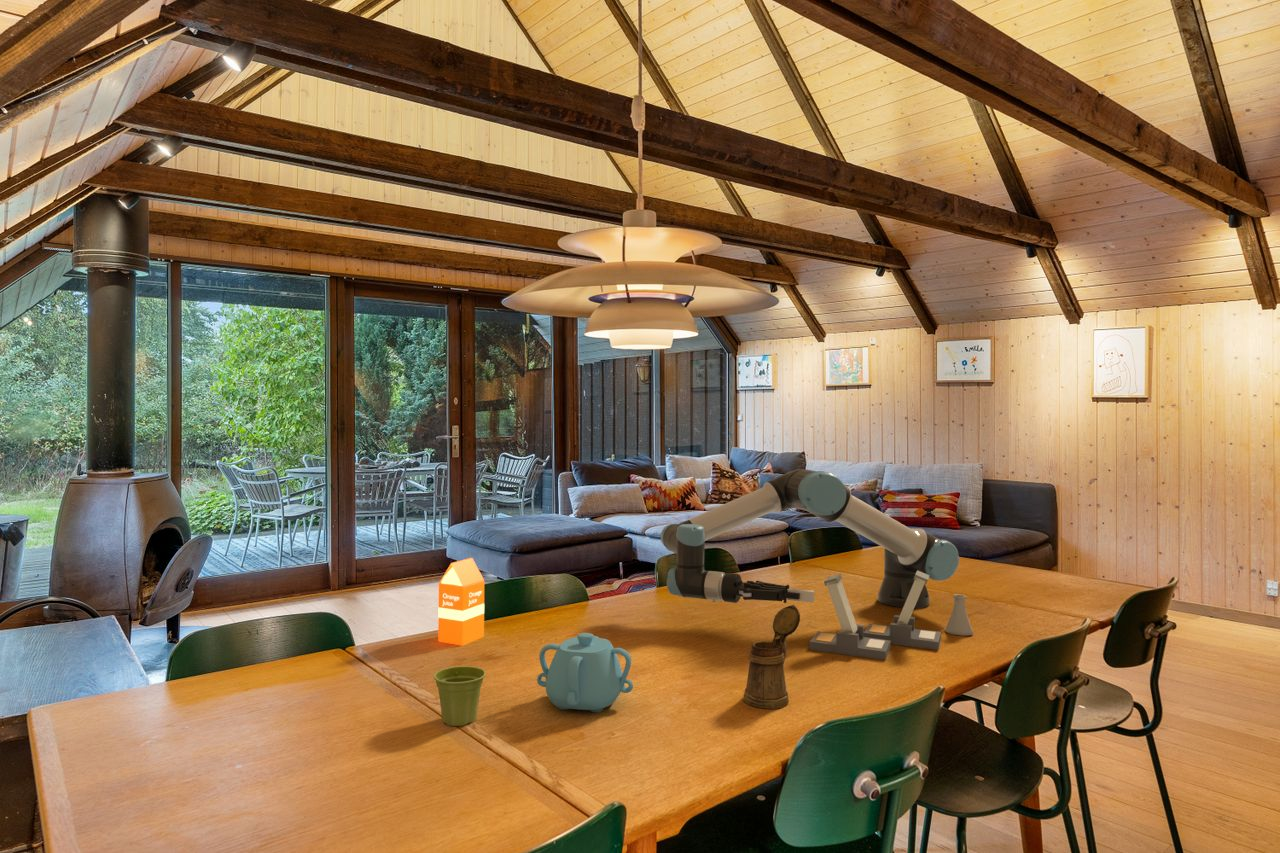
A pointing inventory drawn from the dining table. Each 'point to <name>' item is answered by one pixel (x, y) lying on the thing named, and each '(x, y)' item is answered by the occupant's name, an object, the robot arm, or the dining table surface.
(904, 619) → the lever far
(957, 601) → the flask
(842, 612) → the lever near
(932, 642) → the housing far
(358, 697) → the dining table surface
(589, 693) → the decorative pot
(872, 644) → the housing near
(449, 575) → the orange juice
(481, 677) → the plant pot
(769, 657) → the wooden mug
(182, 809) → the dining table surface
